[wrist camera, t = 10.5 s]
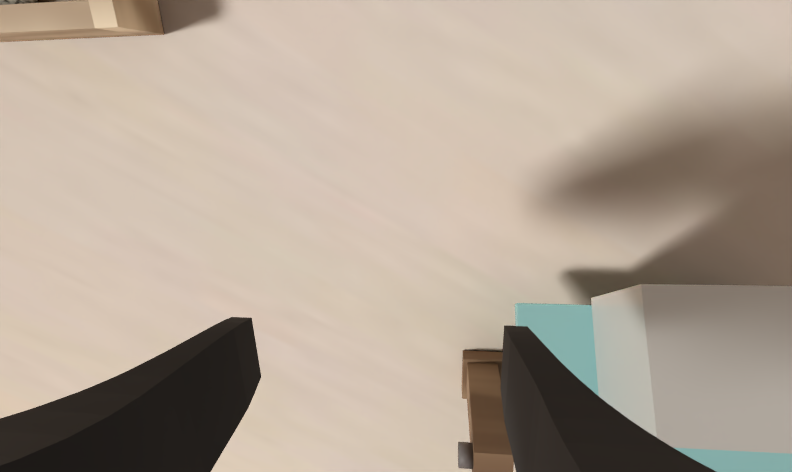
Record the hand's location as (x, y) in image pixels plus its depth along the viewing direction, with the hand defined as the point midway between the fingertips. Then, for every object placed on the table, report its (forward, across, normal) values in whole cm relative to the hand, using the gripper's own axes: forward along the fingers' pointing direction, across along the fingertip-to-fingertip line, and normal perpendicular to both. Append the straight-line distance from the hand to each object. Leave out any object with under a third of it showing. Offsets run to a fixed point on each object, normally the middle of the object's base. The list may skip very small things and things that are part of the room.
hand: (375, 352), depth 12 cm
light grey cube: (+4, -11, +3) cm, 12 cm away
